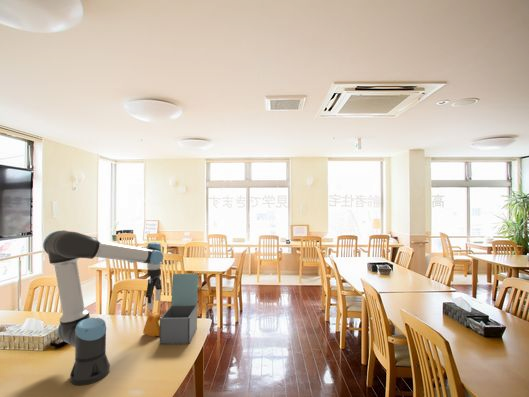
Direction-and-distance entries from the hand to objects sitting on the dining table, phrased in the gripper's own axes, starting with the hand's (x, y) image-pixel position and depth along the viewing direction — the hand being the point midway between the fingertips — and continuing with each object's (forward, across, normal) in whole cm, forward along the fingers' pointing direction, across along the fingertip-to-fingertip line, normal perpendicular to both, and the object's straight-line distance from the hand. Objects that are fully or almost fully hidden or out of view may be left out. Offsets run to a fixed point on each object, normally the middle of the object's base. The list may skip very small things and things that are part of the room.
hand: (154, 304), depth 168 cm
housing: (+17, -5, -16) cm, 24 cm away
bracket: (+17, 0, -1) cm, 17 cm away
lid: (-6, +7, -17) cm, 19 cm away
